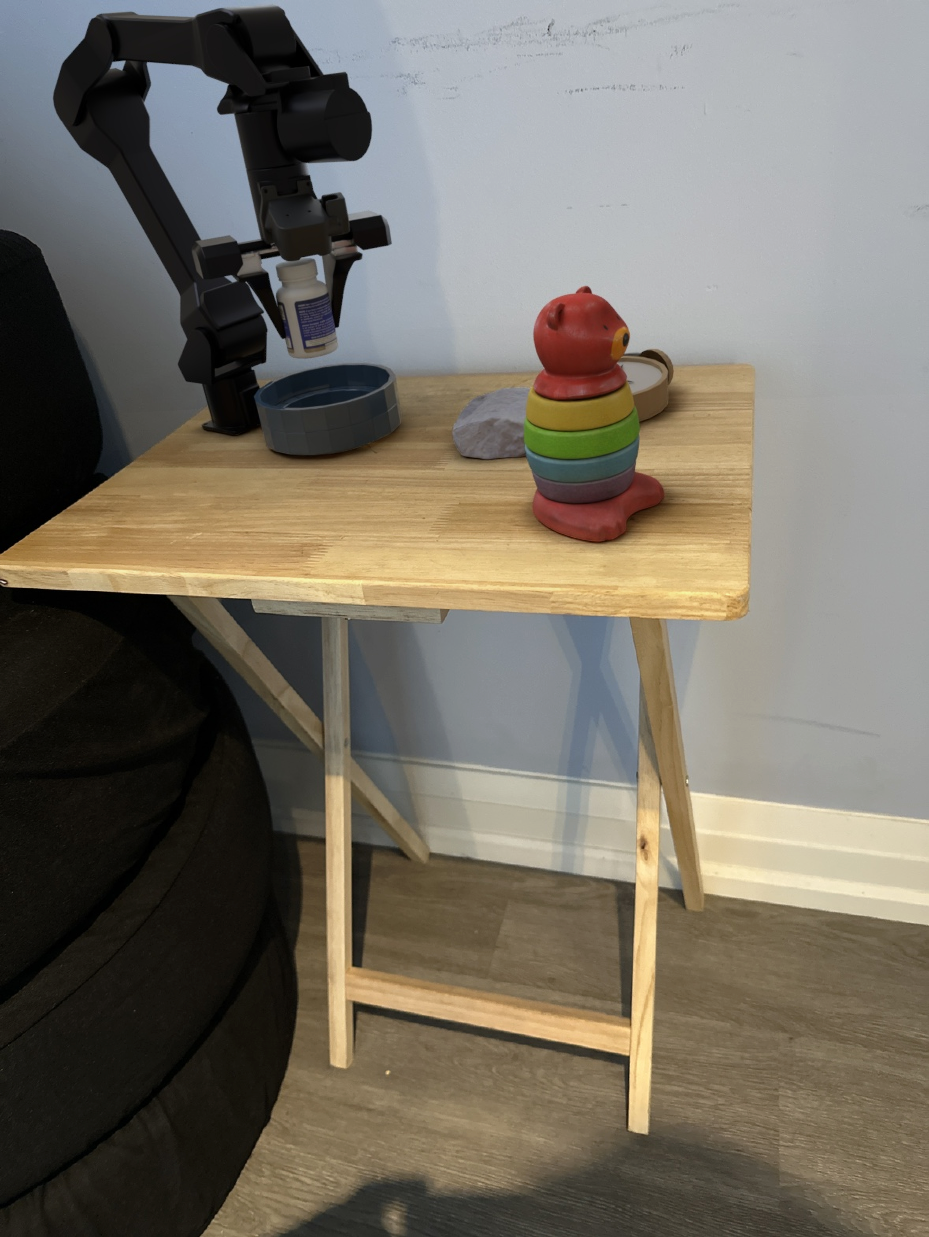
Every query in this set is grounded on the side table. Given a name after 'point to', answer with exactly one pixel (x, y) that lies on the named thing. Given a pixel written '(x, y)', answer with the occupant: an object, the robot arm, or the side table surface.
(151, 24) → the robot arm
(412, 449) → the side table surface
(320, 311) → the pill bottle
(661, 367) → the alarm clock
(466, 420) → the stone block
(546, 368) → the stacking bear
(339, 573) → the side table surface
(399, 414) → the bowl
